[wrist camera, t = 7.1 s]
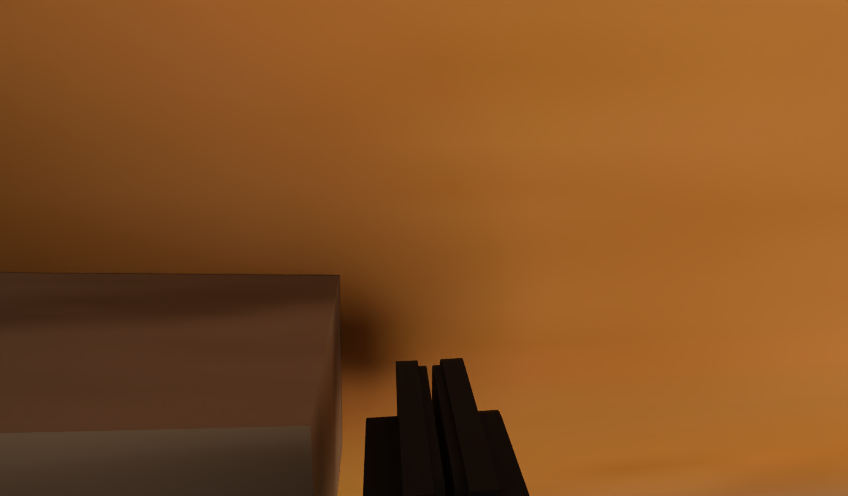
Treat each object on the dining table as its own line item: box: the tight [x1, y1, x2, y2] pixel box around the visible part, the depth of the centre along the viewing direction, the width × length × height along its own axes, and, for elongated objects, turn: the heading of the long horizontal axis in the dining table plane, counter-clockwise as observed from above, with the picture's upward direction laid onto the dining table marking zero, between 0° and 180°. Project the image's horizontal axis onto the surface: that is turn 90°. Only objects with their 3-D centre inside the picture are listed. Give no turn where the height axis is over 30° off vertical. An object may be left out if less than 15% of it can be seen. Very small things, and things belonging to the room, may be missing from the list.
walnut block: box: [0, 273, 342, 496], centre depth 11 cm, size 6×9×6 cm, turn 87°
